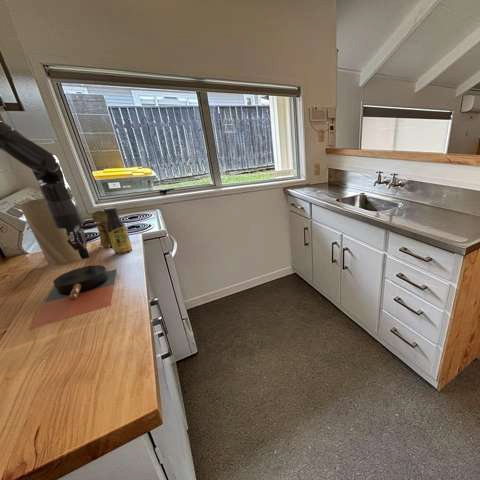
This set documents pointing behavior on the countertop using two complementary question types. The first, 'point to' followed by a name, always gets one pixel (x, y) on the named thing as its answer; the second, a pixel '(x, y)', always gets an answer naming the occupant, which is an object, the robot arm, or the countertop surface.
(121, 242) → the sauce bottle
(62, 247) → the tube
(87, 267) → the pan
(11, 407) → the countertop surface
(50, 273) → the countertop surface
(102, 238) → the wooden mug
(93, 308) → the board
